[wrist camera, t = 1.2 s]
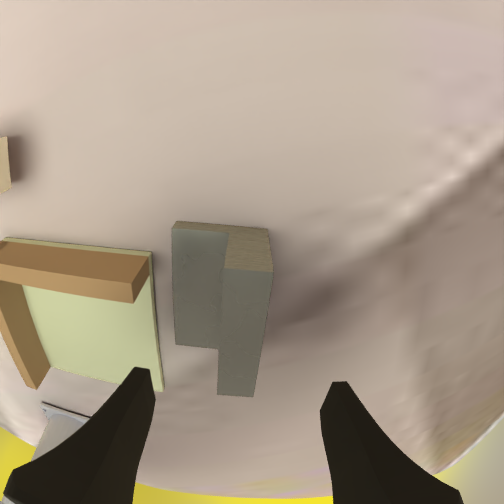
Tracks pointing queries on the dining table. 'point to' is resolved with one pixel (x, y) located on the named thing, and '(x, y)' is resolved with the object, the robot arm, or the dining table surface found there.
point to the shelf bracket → (4, 166)
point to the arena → (78, 310)
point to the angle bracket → (223, 296)
